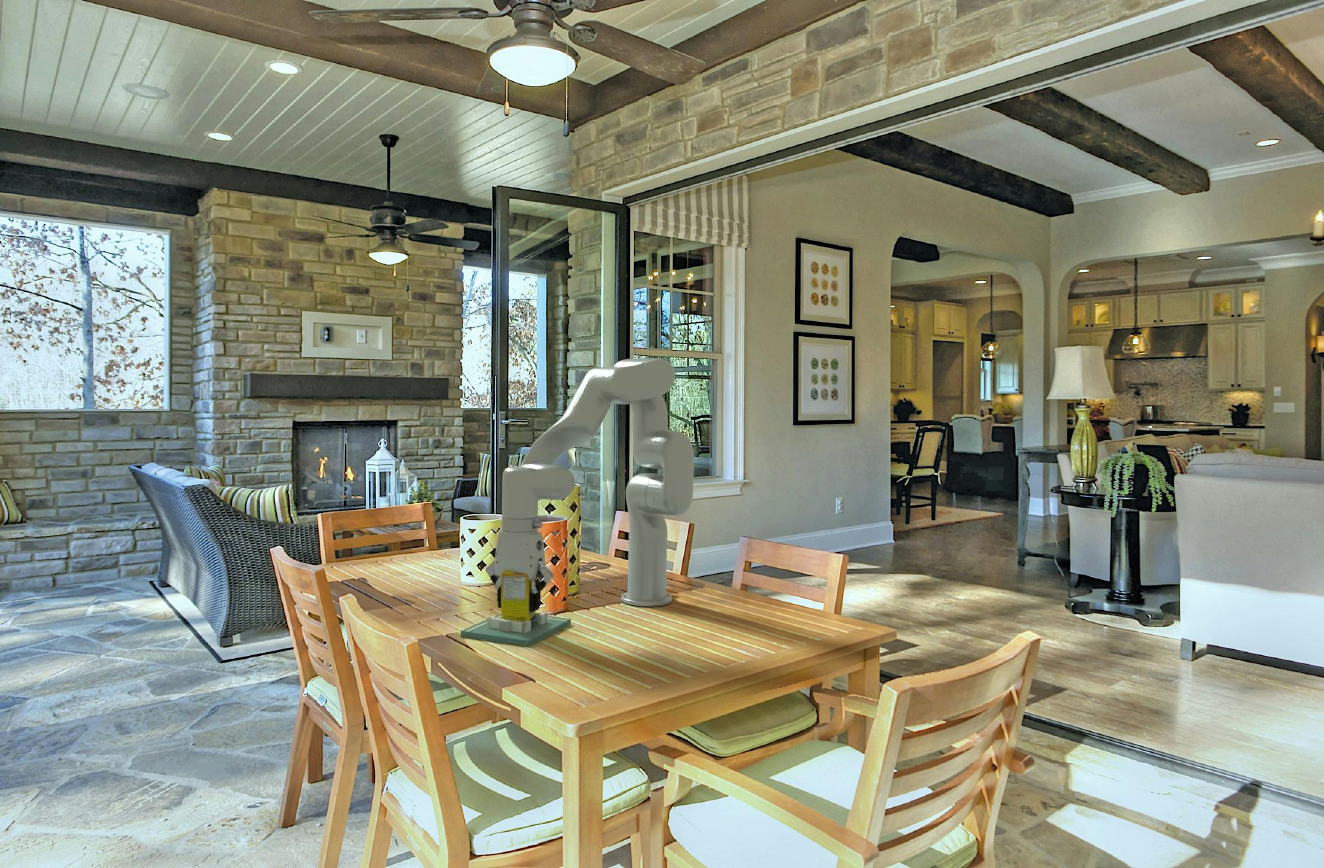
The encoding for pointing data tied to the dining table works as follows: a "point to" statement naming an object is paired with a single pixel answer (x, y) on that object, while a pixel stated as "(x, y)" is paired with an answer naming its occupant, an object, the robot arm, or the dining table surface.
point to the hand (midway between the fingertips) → (518, 607)
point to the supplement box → (515, 597)
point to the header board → (516, 629)
